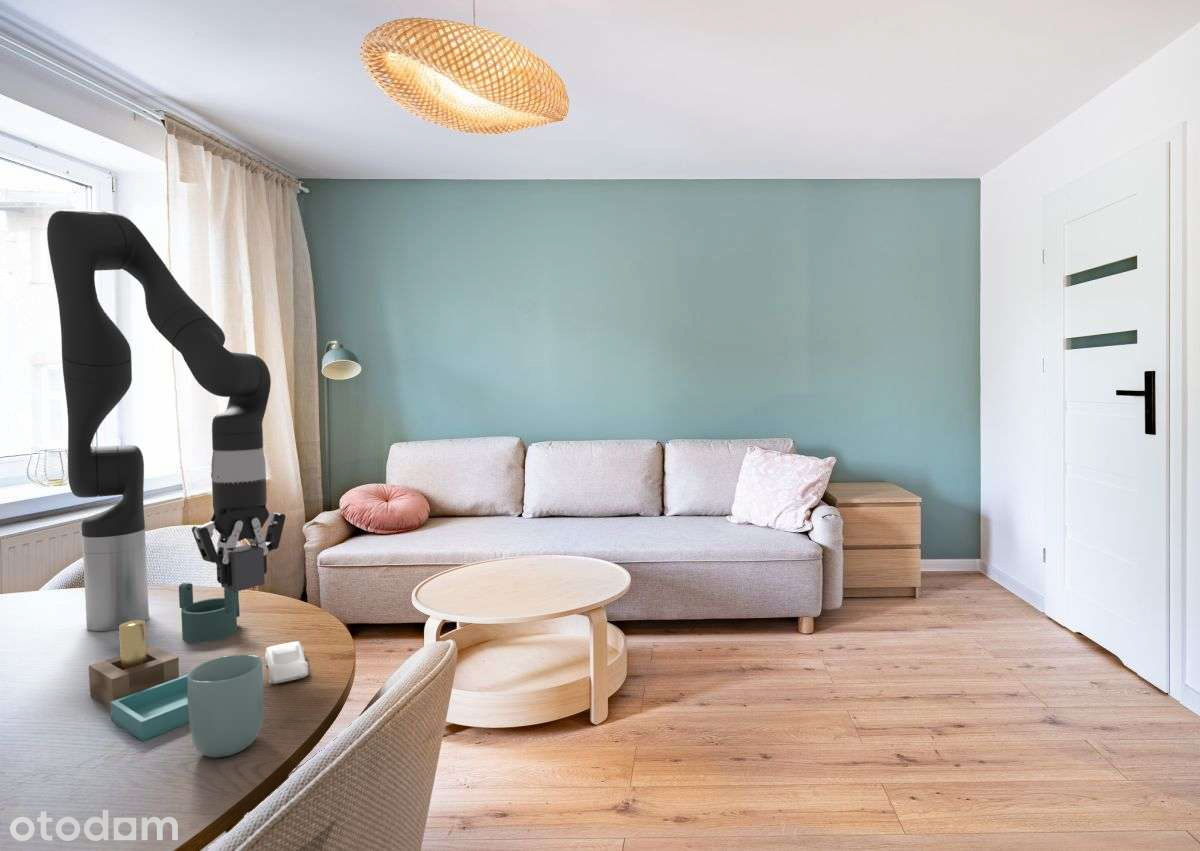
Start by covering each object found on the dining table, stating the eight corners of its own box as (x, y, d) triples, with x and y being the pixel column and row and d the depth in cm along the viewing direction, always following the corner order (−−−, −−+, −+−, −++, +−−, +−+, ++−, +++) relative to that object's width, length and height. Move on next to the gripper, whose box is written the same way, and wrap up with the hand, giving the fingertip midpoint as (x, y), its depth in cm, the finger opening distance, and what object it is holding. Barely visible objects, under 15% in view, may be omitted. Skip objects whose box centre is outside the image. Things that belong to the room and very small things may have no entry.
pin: (118, 693, 88) (115, 625, 87) (142, 684, 91) (139, 618, 90) (127, 698, 86) (124, 629, 86) (152, 690, 89) (149, 622, 88)
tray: (111, 720, 81) (110, 701, 81) (210, 683, 91) (209, 666, 91) (142, 741, 76) (141, 722, 76) (243, 699, 86) (242, 682, 86)
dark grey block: (236, 591, 96) (234, 554, 96) (221, 587, 99) (220, 550, 98) (264, 584, 100) (263, 548, 100) (249, 579, 103) (248, 544, 102)
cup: (212, 731, 78) (209, 654, 78) (276, 728, 79) (273, 652, 78) (176, 768, 70) (172, 684, 70) (246, 765, 71) (243, 681, 71)
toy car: (269, 691, 89) (269, 669, 89) (264, 661, 99) (263, 640, 99) (311, 682, 92) (310, 660, 92) (301, 653, 102) (301, 633, 102)
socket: (90, 695, 87) (88, 665, 87) (154, 673, 94) (153, 645, 94) (113, 711, 83) (112, 679, 83) (179, 687, 90) (178, 657, 90)
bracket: (239, 636, 109) (238, 586, 108) (177, 647, 104) (175, 595, 104) (239, 620, 116) (238, 574, 116) (181, 629, 112) (179, 581, 111)
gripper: (202, 484, 91) (207, 598, 91) (295, 473, 103) (298, 574, 103) (178, 480, 95) (183, 589, 96) (270, 470, 107) (273, 567, 108)
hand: (243, 581), depth 99 cm, fingers closed on dark grey block, 4 cm apart
